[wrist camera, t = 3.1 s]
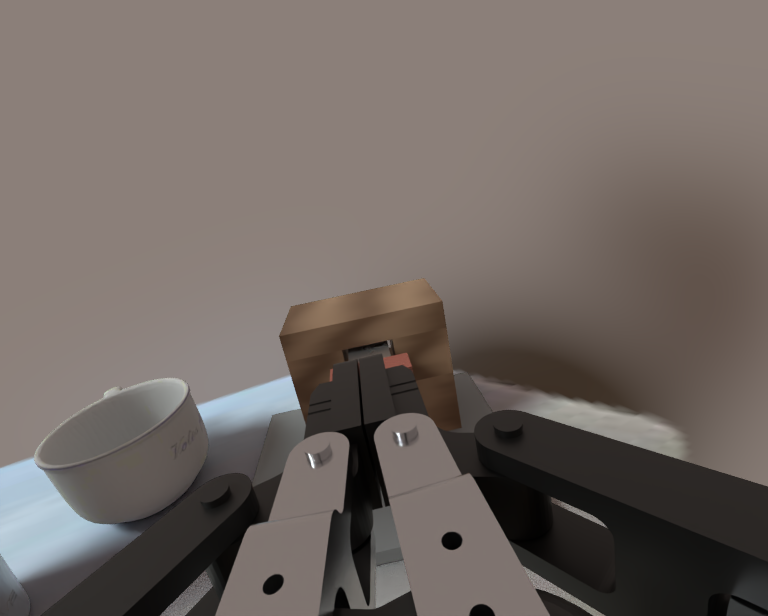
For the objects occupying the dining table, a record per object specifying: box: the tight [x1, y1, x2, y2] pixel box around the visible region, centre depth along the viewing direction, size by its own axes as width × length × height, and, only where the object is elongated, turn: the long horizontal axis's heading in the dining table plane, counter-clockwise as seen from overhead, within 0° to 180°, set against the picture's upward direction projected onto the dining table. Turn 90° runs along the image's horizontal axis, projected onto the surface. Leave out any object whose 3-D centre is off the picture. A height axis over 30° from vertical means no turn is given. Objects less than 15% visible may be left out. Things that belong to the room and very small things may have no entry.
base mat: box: [252, 372, 493, 566], centre depth 32 cm, size 20×18×1 cm
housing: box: [279, 278, 462, 431], centre depth 34 cm, size 12×7×12 cm, turn 96°
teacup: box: [34, 378, 209, 524], centre depth 34 cm, size 14×11×8 cm
